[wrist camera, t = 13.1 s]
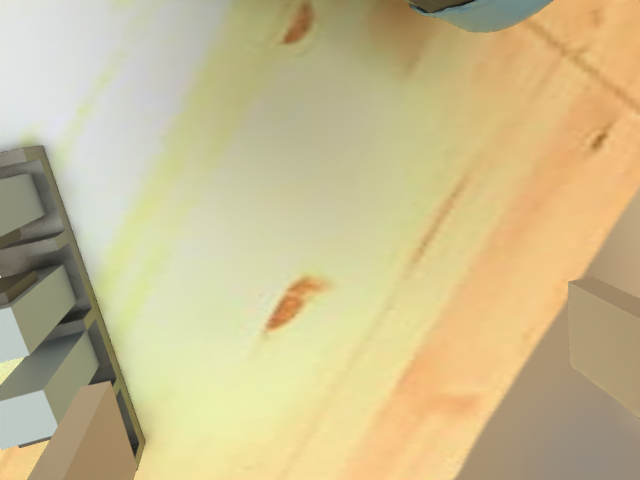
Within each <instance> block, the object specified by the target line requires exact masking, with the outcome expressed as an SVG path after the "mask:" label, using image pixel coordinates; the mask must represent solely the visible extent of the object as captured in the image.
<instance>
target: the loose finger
mask: <svg viewBox="0 0 640 480" xmlns="http://www.w3.org/2000/svg"><path fill="white" fill-rule="evenodd" d="M99 365H100V364H99V362H98V359H97V356H96V354H95V351H94V348H93V346H92V343H91V340H90V337H89V335H88V332H87V330H86V331H82V332H78V333H74V334H70V335H66V336H62V337H58V338H54V339H50V340H45V341H42V342H41V343H40V344H39V345H38V347H37V348H36V349H35V350H34V351H33V352H32V353H31V354H30V355H29V356H26V357H25V358H24V359H23V360H22V362H21V363H20V364H19V365H18V366H17V367H16V368H15V369H14V371H13V372H12V373H11V374H10V375H9V376H8V377H7V378H6V379H5V381H4V382H3V383H2V384H1V385H0V448H1V450H3V449H6V448H10V447H14V446H17V445H18V446H19V448H22V447H25V446H29V445H33V444H36V443H40V442H43V441H47V440H50V439H51V437H52V436H53V434H54V432H55V430H56V429H57V427H58V425H59V424H60V422H61V420H62V418H63V417H64V415H65V413H66V411H67V410H68V408H69V406H70V405H71V403H72V401H73V399H74V398H75V396H76V394H77V392H78V391H79V389H80V387H84V386H88V384H89V383H90V381H91V379H92V377H93V376H94V374H95V372H96V370H97V368H98V367H99Z"/></svg>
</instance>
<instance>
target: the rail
mask: <svg viewBox="0 0 640 480" xmlns="http://www.w3.org/2000/svg"><path fill="white" fill-rule="evenodd" d="M30 172H31V175H32V177H33V180H34V183H35V186H36V189H37V191H38V194H39V197H40V200H41V203H42V205H43V208H44V211H45V214H46V215H44V216H42V217H40V218H38V219H36V220H34V221H31V222H29V223H27V224H25V225H23V226H21V227H19V229H20V231H21V234H22V237H20V238H18V239H16V240H14V241H13V242H11V243H9V244H7V245H5V246H3V247H1V248H0V276H1V278H3V277H8V276H12V275H16V274H21V273H25V272H29V271H34V270H38V269H43V268H47V267H51V266H56V265H60V264H64V267H65V270H66V273H67V275H68V278H69V281H70V284H71V287H72V289H73V292H74V295H75V298H76V300H77V302H76V304H75V305H74V306H73V307H72V308H71V309H70V310H69V311H68V313H67V314H66V315H65V316H64V317H63V318H62V319H61V320H60V322H59V323H58V324H57V325H56V326H55V327H54V328H53V330H52V331H51V332H50V333H49V334H48V335H47V336H46V337H45V339H44V340H43V341H45V340H50V339H54V338H58V337H62V336H66V335H70V334H74V333H78V332H82V331H86V330H87V332H88V335H89V337H90V340H91V343H92V346H93V348H94V351H95V354H96V356H97V359H98V362H99V364H100V365H99V367H98V368H97V370H96V372H95V374H94V376H93V377H92V379H91V381H90V383H89V384H88V385H93V384H98V383H102V382H107V381H111V384H112V387H113V391H114V394H115V397H116V400H117V403H118V407H119V410H120V413H121V416H122V419H123V423H124V426H125V429H126V432H127V436H128V439H129V442H130V445H131V448H132V452H133V455H134V458H135V461H136V464H137V469H136V471H137V470H138V467H139V463H140V460H141V456H142V453H143V449H144V445H145V440H144V437H143V434H142V431H141V428H140V425H139V423H138V420H137V417H136V414H135V411H134V408H133V405H132V402H131V399H130V396H129V394H128V391H127V388H126V385H125V382H124V379H123V376H122V373H121V370H120V368H119V365H118V362H117V359H116V356H115V353H114V350H113V347H112V344H111V342H110V339H109V336H108V333H107V330H106V327H105V324H104V321H103V318H102V316H101V313H100V310H99V307H98V304H97V301H96V298H95V295H94V292H93V290H92V287H91V284H90V281H89V278H88V275H87V272H86V269H85V266H84V263H83V261H82V258H81V255H80V252H79V249H78V246H77V243H76V240H75V237H74V235H73V232H72V229H71V226H70V223H69V220H68V217H67V214H66V211H65V209H64V206H63V203H62V200H61V197H60V194H59V191H58V188H57V185H56V183H55V180H54V177H53V174H52V171H51V168H50V165H49V162H48V159H47V156H46V154H45V151H44V148H43V146H36V147H28V148H21V149H16V150H11V151H6V152H1V153H0V179H1V178H6V177H11V176H16V175H20V174H25V173H30Z"/></svg>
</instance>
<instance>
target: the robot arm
mask: <svg viewBox="0 0 640 480" xmlns="http://www.w3.org/2000/svg"><path fill="white" fill-rule="evenodd" d="M404 1H406V2H408V3H409V5H410V7H411V8H412V9H413V10H415V11H416V12H418V13H419V14H421V15H424V16H430V17H434V18H439V19H442V20H444V21H446V22H448V23H450V24H452V25H454V26H457V27H459V28H461V29H463V30H466V31H469V32H484V33H488V32H496V31H500V30H503V29H506V28H509V27H511V26H514V25H516V24H518V23H520V22H522V21H524V20H526V19H527V18H529V17H531V16H532V15H534V14H536V13H537V12H539V11H540V10H541V9H543V8H544V7H546V6H547V5H548V4H550V3H551V2H552V1H553V0H404ZM568 301H569V357H570V358H569V363H570V365H571V366H572V367H573V368H575V369H576V370H578V371H579V372H580V373H581V374H583V375H584V376H585V377H587V378H588V379H589V380H590V381H592V382H593V383H594V384H596V385H597V386H598V387H600V388H601V389H602V390H604V391H605V392H606V393H608V394H609V395H610V396H611V397H613V398H614V399H615V400H617V401H618V402H619V403H621V404H622V405H623V406H624V407H626V408H627V409H628V410H630V411H631V412H632V413H634V414H635V415H636V416H637V417H639V418H640V299H639V298H637V297H635V296H632V295H630V294H628V293H626V292H624V291H621V290H620V289H618V288H615V287H613V286H611V285H609V284H607V283H605V282H602V281H600V280H598V279H596V278H594V277H588V278H583V279H579V280H574V281H569V282H568ZM136 469H137V464H136V461H135V458H134V455H133V452H132V448H131V445H130V442H129V439H128V436H127V432H126V429H125V426H124V423H123V419H122V416H121V413H120V410H119V407H118V403H117V400H116V397H115V394H114V391H113V387H112V384H111V381H107V382H102V383H98V384H93V385H88V386H84V387H80V389H79V391H78V392H77V394H76V396H75V398H74V399H73V401H72V403H71V405H70V406H69V408H68V410H67V411H66V413H65V415H64V417H63V418H62V420H61V422H60V424H59V425H58V427H57V429H56V430H55V432H54V434H53V436H52V437H51V439H50V441H49V443H48V444H47V446H46V448H45V449H44V451H43V453H42V455H41V456H40V458H39V460H38V462H37V463H36V465H35V467H34V469H33V470H32V472H31V474H30V475H29V477H28V479H27V480H133V479H134V476H135V473H136Z"/></svg>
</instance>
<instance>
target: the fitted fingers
mask: <svg viewBox="0 0 640 480" xmlns="http://www.w3.org/2000/svg"><path fill="white" fill-rule="evenodd" d="M44 215H46V214H45V211H44V208H43V205H42V203H41V200H40V197H39V194H38V191H37V189H36V186H35V183H34V180H33V177H32V175H31V172H30V173H25V174H20V175H16V176H11V177H6V178H1V179H0V248H1V247H3V246H5V245H7V244H9V243H11V242H13V241H14V240H16V239H18V238H20V237H22V234H21V231H20V229H19V227H21V226H23V225H25V224H27V223H29V222H31V221H34V220H36V219H38V218H40V217H42V216H44ZM76 302H77V300H76V298H75V295H74V292H73V289H72V287H71V284H70V281H69V278H68V275H67V273H66V270H65V267H64V264H60V265H56V266H51V267H47V268H43V269H38V270H34V271H29V272H25V273H21V274H16V275H12V276H8V277H3V278H0V363H1V362H5V361H9V360H13V359H17V358H21V357H25V356H29V355H30V354H31V353H32V352H33V351H34V350H35V349H36V348H37V347H38V345H39V344H40V343H41V342H42V341H43V340H44V339H45V337H46V336H47V335H48V334H49V333H50V332H51V331H52V330H53V328H54V327H55V326H56V325H57V324H58V323H59V322H60V320H61V319H62V318H63V317H64V316H65V315H66V314H67V313H68V311H69V310H70V309H71V308H72V307H73V306H74V305H75V304H76Z"/></svg>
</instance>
